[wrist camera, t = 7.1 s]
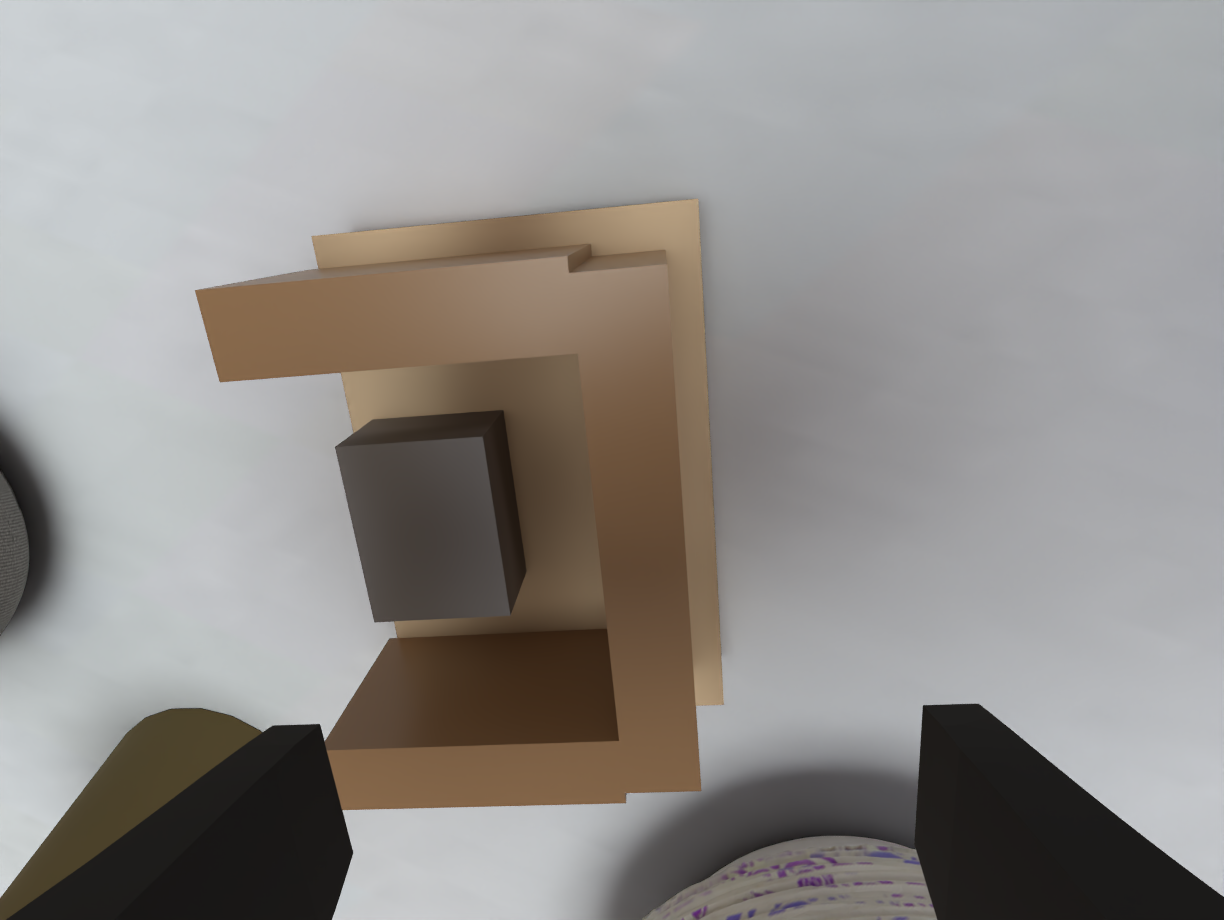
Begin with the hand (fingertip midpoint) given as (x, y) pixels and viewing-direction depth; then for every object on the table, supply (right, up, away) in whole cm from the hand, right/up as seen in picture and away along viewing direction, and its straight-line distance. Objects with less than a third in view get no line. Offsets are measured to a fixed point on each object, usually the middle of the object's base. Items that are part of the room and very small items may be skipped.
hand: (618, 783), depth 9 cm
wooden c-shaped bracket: (-2, +3, +8) cm, 9 cm away
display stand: (-2, +4, +10) cm, 11 cm away
